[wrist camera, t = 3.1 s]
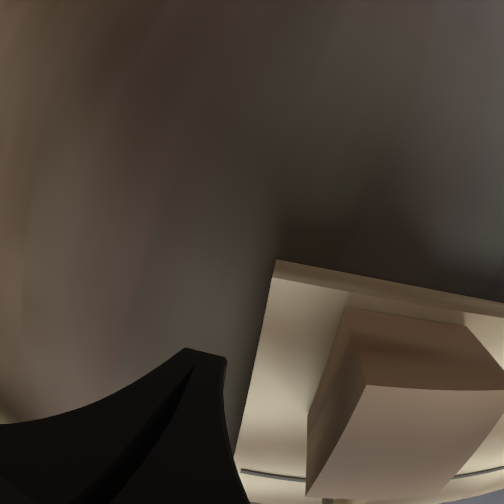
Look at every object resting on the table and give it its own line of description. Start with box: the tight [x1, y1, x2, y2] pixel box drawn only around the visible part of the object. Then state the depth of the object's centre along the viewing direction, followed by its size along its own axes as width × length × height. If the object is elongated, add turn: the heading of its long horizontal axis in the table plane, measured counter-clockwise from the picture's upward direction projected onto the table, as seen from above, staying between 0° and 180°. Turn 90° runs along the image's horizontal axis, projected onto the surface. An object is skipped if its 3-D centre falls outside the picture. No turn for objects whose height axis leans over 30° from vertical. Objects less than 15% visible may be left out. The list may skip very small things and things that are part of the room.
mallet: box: [305, 307, 504, 504], centre depth 9 cm, size 10×5×4 cm, turn 171°
